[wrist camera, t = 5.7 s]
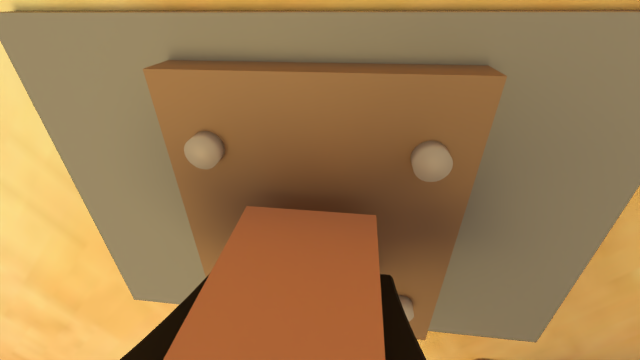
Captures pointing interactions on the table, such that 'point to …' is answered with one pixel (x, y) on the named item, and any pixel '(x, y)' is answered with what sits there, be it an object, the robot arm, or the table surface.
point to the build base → (515, 180)
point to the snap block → (290, 291)
